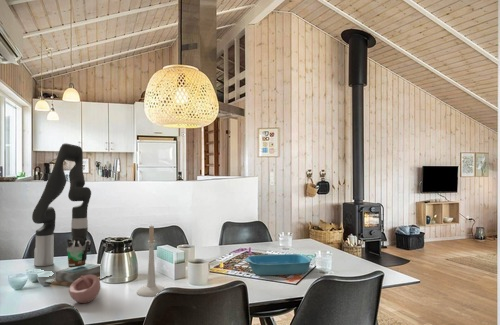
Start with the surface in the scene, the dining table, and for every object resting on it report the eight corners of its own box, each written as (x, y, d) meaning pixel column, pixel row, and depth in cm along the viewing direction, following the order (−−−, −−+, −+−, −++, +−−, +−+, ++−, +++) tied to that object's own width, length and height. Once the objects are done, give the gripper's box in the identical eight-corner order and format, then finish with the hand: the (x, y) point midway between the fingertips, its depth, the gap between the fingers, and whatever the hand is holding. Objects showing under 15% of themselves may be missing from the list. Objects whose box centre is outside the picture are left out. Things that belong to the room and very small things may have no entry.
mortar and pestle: (62, 305, 155) (62, 276, 155) (84, 295, 166) (84, 269, 166) (85, 308, 151) (85, 279, 151) (106, 299, 162) (106, 272, 162)
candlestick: (138, 298, 163) (138, 228, 164) (134, 289, 175) (135, 224, 175) (168, 294, 168) (168, 226, 169) (162, 286, 180) (163, 222, 180)
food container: (77, 268, 185) (77, 247, 185) (66, 268, 186) (66, 247, 186) (93, 262, 197) (93, 243, 197) (82, 262, 198) (82, 242, 198)
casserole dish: (304, 264, 221) (304, 252, 221) (318, 275, 199) (318, 261, 199) (241, 267, 214) (241, 255, 214) (249, 279, 192) (249, 264, 192)
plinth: (44, 282, 185) (44, 271, 185) (79, 271, 206) (79, 261, 206) (79, 287, 177) (79, 276, 177) (111, 275, 198) (112, 264, 198)
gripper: (62, 227, 191) (62, 260, 191) (85, 228, 186) (84, 263, 186) (74, 224, 198) (74, 257, 198) (96, 226, 193) (96, 259, 193)
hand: (79, 260), depth 192 cm, fingers closed on food container, 5 cm apart
